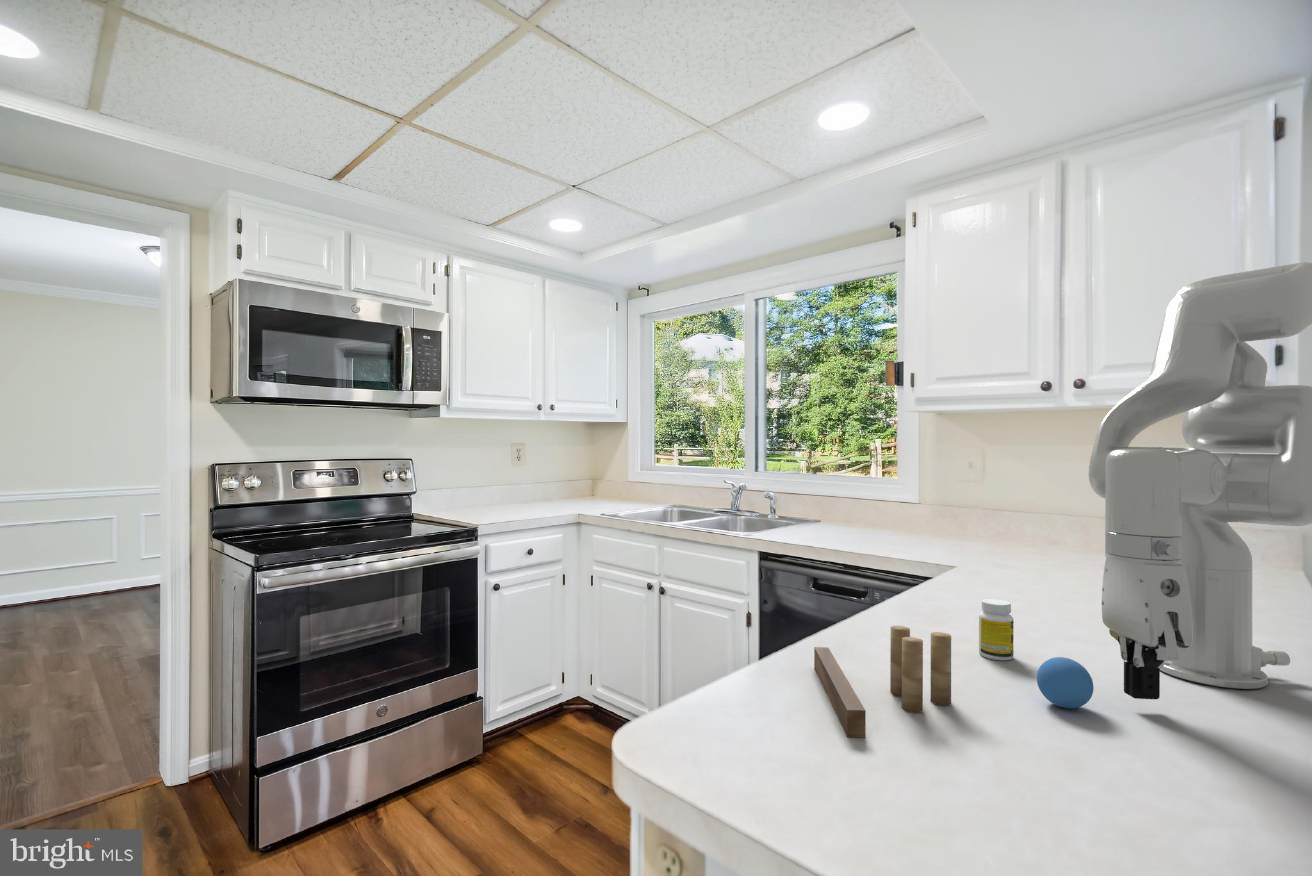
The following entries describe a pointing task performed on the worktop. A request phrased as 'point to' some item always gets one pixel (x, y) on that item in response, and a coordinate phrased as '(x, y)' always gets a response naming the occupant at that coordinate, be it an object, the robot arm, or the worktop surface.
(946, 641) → the pin front
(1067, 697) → the ball
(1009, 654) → the supplement bottle
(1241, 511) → the robot arm
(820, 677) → the back rail
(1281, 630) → the worktop surface
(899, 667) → the pin
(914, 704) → the pin
